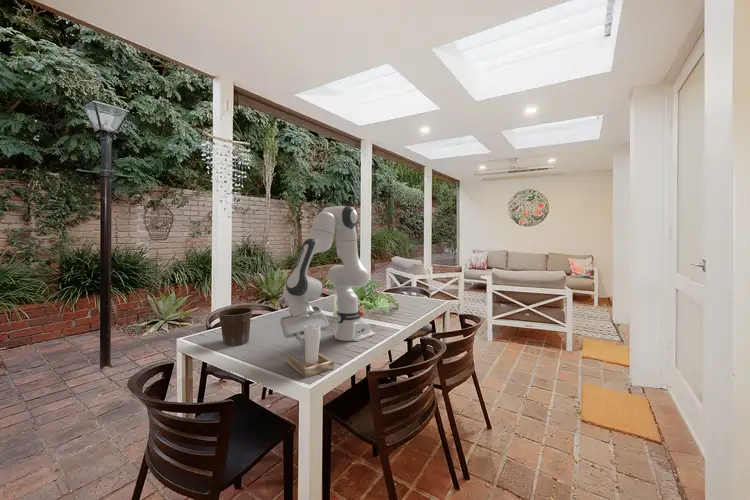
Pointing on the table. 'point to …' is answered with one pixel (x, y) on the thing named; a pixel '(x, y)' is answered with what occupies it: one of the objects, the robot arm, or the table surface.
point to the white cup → (311, 343)
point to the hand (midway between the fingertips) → (311, 341)
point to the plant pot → (235, 325)
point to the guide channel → (311, 365)
